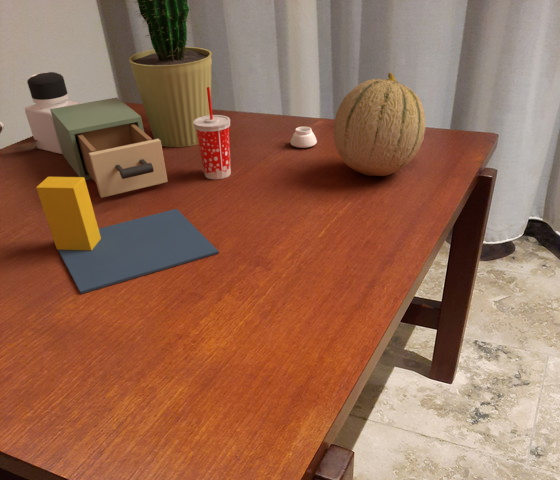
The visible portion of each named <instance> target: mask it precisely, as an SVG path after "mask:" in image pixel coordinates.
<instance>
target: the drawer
mask: <svg viewBox="0 0 560 480" xmlns="http://www.w3.org/2000/svg"><path fill="white" fill-rule="evenodd" d="M75 136H76V139H77V143H78V147H79V150H80V154H81V158H82V161H83V164H84V169H85V170H86V171H87V172H88V174H89V175H90V176H91V177H92V179H91V180H93V182H94V183H95V184H96V187H97V192H98V195H99V196H100V198H107V197H110V196H115V195H118V194H119V195H120V194H123V193H127V192H131V191H136V190H140V189H144V188H148V187H153V186H156V185H157V186H158V185H161V184H165V183H168V182H169V180H168V174H167V169H166V163H165V158H164V151H163V146H162V145H161V141H160V140H159V139H154V138H153V139H152V138H151V137H150V136H149V135H148V134H147V133H146V132H145V131H144V132H143V131H142V130H141V129H140V128H138V127H137V126H136V125H135V124H134V123H130V124H125V125H120V126H115V127H110V128H105V129H99V130H94V131H89V132H84V133H79V134H75Z"/></svg>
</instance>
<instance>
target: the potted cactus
mask: <svg viewBox="0 0 560 480" xmlns="http://www.w3.org/2000/svg"><path fill="white" fill-rule="evenodd" d="M133 3H134V4H135V6H138V10H135V13H136V14H135V16H136V15H137V16H136V18H138V17H139V19H141V18H143V20H142V23H145V25H144V26H143V25H142V26H143V27H146V28H147V29H148V33H147V35H145V36H144V38H147V39H150V43H151V45H152V49H148V50H143V51H139V52H137V53H135V54H132V55H131V56H129V58H128V62H129V64H130V68H131V71H132V74H133V77H134V81H135V84H136V87H137V90H138V93H139V96H140V99H141V102H142V105H143V108H144V111H145V114H146V117H147V122H148V124H149V127H150V130H151V133H152V136H153V140H154V139H159V140H160V141H161V145H162V147H167V148H186V147H193V146H196V145H199V142H198V137H197V132H196V129H195V128H194V123H193V121H194V120H195V119H197V118H199V117H203V116H208V115H210V113H209V104H208V96H207V87H210V96H211V97H212V68H213V67H212V66H213V63H212V62H213V61H212V55H213V52H212V51H211V50H209V49H206V48H201V47H195V46H194V47H193V46H187V45H188V43H187V42H189V43H191V41H189V40H188V34H191V32H190V31H188V28H187V26H188V25H187V22H188V24H191V22H190V21H189V20H191V19H192V18H191V17H192V16H190V14H189V11H191V7H193V6H189V5H188V0H136V1H133ZM138 11H139V13H137V12H138Z"/></svg>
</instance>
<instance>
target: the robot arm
mask: <svg viewBox="0 0 560 480" xmlns="http://www.w3.org/2000/svg"><path fill="white" fill-rule="evenodd" d="M4 128H5V125H4V123H3V122H2V121H0V134H1V133H2V132H3V130H4Z"/></svg>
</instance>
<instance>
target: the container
mask: <svg viewBox="0 0 560 480" xmlns="http://www.w3.org/2000/svg"><path fill="white" fill-rule="evenodd" d="M26 83H27V86H28V90H29V92H30V96H31V99H32V102H33V104H31V105H29V106H25V107H24V113H25V115H26V119H27V122H28V126H29V128H30V132H31V135H32V138H33V140H35V141H34V144H35V147H36V148H37V149H39V150H43V151H45V152H46V151H47V152H51V153H55V154H60V155H63V152H62V149H61V145H60V142H59V138H58V135H57V132H56V128H55V125H54V121H53V118H52V114H51V111H50V109H54V108H60V107H65V106H71V105H77V104H82V103H81V102H80V101H75V100H69V97H70V96H69V93H68V90H67V86H66V82H65V78H64V76H63V75H62V74H61V73H58V72H55V71H45V72H38V73H35V74H32V75H30V76H29V77H28V78H27V80H26Z"/></svg>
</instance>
